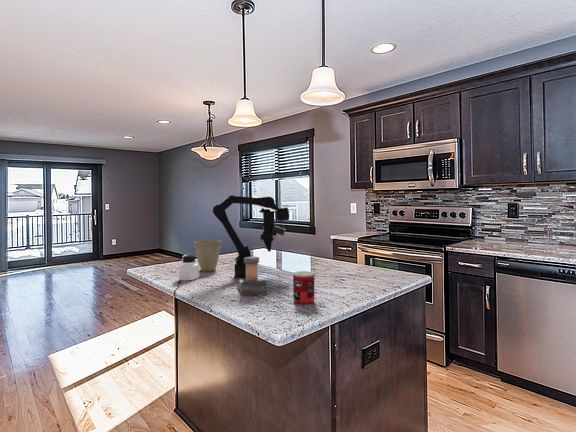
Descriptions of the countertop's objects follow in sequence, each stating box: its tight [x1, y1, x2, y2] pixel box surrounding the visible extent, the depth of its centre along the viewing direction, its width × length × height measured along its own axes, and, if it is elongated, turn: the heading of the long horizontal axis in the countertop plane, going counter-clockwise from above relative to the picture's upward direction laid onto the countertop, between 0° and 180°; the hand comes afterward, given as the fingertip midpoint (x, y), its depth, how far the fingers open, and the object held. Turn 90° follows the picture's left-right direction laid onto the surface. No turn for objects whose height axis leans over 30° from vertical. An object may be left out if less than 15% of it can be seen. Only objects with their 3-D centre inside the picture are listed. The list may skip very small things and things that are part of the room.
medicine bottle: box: [178, 254, 200, 281], centre depth 177 cm, size 7×7×12 cm
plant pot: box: [193, 239, 222, 272], centre depth 199 cm, size 15×15×16 cm
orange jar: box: [244, 256, 260, 281], centre depth 151 cm, size 6×6×13 cm
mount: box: [237, 278, 267, 297], centre depth 153 cm, size 14×10×6 cm
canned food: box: [292, 270, 315, 305], centre depth 136 cm, size 8×8×11 cm
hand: (269, 251), depth 184 cm, fingers closed
